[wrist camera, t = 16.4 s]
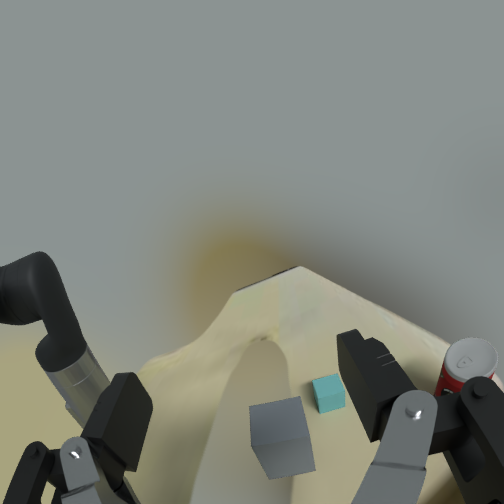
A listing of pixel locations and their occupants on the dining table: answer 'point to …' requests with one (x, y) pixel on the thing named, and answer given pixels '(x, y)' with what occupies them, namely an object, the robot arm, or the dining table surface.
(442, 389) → the canned food
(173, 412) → the dining table surface
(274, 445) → the tall grey pillar block
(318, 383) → the teal block
